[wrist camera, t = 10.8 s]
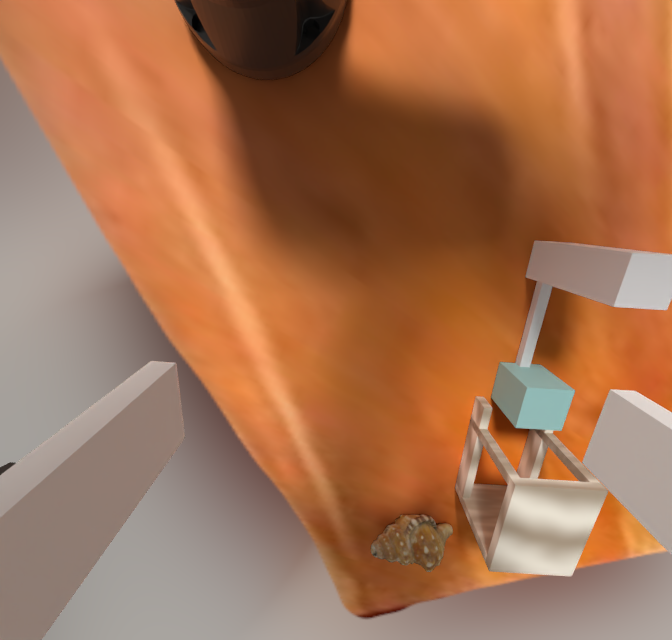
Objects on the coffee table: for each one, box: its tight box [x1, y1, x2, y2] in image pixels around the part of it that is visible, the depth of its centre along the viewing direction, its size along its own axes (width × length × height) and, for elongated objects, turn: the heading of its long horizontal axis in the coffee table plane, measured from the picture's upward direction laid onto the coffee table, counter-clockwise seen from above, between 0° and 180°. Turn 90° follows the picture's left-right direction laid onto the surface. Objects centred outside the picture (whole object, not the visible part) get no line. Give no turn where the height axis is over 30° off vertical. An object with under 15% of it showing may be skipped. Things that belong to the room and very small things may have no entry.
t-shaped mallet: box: [491, 240, 672, 431], centre depth 31 cm, size 20×5×12 cm, turn 177°
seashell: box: [371, 514, 453, 572], centre depth 44 cm, size 9×8×10 cm
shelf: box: [455, 396, 608, 576], centre depth 37 cm, size 15×9×11 cm, turn 177°
